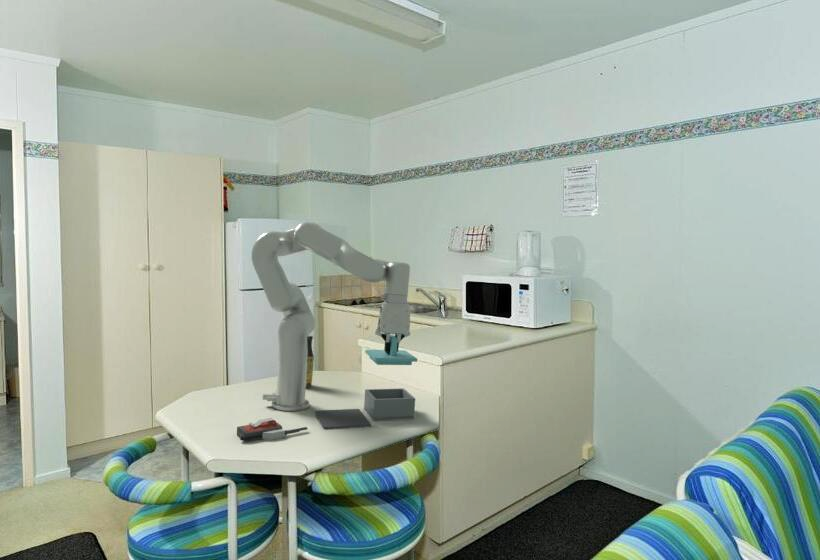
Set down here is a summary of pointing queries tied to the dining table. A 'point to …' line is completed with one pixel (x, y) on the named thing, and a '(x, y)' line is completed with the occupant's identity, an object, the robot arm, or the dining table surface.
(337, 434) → the dining table surface
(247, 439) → the walkie-talkie
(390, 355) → the lid
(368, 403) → the tub
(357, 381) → the dining table surface
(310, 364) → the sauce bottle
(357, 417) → the mat
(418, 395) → the dining table surface
